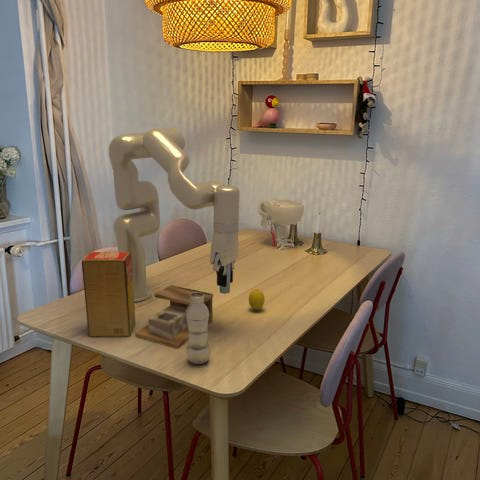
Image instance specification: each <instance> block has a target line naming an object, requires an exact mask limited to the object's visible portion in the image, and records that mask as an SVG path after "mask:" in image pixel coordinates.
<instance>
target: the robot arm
mask: <svg viewBox="0 0 480 480" xmlns="http://www.w3.org/2000/svg"><path fill="white" fill-rule="evenodd" d="M185 144H186V141H185V136H184V135H183V134H182V133H181V132H180V130H178V129H176V128H173V127H172V128H171V127H170V128H167V127H166V128H153V129H150V130H149V131H147V132H141V133H140V132H139V133H134V132H133V133H124V134H120V135H117V136H115V137H113V139H112V140H111V141H110V143H109V146H108V156H109V162H110V164H111V167H112V168H111V169H112V175H113V184H114V185H113V188H114V198H115V204H116V206H117V208H118V209H120V210H121V211H131V210H132V211H133V210H137V209H139V211H134V212H129V213H124V214H121V215H118V217H116V219H115V220H114V222H113V224H112V225H113V226H112V227H113V228H112V229H113V233H114V236H115V240H116V243H117V244H116V246H117V252H131V259H132V274H133V292H134V303H137V302H138V303H139V302H143V301H146V300H148V299H149V298H150V297H151V296H152V290H151V289H150V288H148V283H147V281H148V280H147V266H146V263H147V262H146V251H145V247H144V245H143V244H142V243H141V241H140V239H142V238H144V237H147V236H152V235H154V234H156V233H157V232H158V230H159V229H160V225H161V216H160V201H159V193H158V190H157V188H156V186H155V184H154V183H153V182H151V181H150V180H139V179H140V178H139V171H138V168H137V166H136V164H135V162H134V161H133V160H139V159H140V160H141V159H148V158H149V159H150V158H153V160H154V161H155V162H156V163H157V164H158V165H159V166H160V167H161V168H162V169H163V170H164V171H165V172H166V173H167V183H168V187H169V189H170V192H171V193H172V194H173V196H174V197H175V198H176V199H178V201H179V202H180V203H181V204H182V205H183V206H184V207H186V208H187V209H190V210H196V211H197V210H200V209H204V208H208V207H209V208H210V207H213V232H212V233H213V234H212V238H211V243H210V255H209V257H210V259H209V260H210V261H209V262H210V264H211V265H212V270H213V271H214V272H215V274H216V285H217V286H219V287H220V286H222V287H226V286H227V275H226V265H228V264H229V263H231V266H230V284H233V281H234V269H235V263H236V260H237V259H238V258H239V257H238V256H239V225H240V196H241V195H240V193H241V192H240V188H239V187H238V186H235V185H232V184H224V183H222V182H220V181H216V180H207V181H201V182H196V183H192V182H191V181H190V180H189V179H188V178H187V177H186V176H185V175H184V172H185V171H186V170H187V168H188V167H189V164H190V158H189V157H190V156H189V155H188V154H187V153H186V152H185V151H184V148H185V146H186V145H185ZM220 263H222V264H220ZM220 267H223V270H222V268H220Z"/></svg>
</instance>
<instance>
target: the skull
mask: <svg viewBox="0 0 480 480" xmlns="http://www.w3.org/2000/svg"><path fill="white" fill-rule="evenodd" d="M258 201H259V204H258V207H257V213H258V214H259V215H260V216H261V220H260V226H261V227H262V228H263V229H267V227H268V226H270V235H271V237H272V243H273V244H272V247H274V248H275V245H276V248H278V251H280V250H284V249H287V248H290V247H291V248H294V247H295V244H294V242H292V239H291V238H287V237H289V233H288V231H287V230H288V227H287V226H290V225H294V226H297V224H298V223H299V222H300V221H301V219H302V217H303V214H304V211H305V204H304V202H302V201H298V200H292V199H291V200H290V199H277V198H272V200H270V201H267V200H258Z"/></svg>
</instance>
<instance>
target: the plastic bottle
mask: <svg viewBox="0 0 480 480" xmlns="http://www.w3.org/2000/svg"><path fill="white" fill-rule="evenodd" d="M190 302H191V303H190V305H189V306H188V307H187V309H186V312H185V314H186V320H187V326H188V341H187V346H186V357H187V359H188V361H189V362H190V363H191V364H193V365H203V364H206V363H207V362H208V361H209V359H210V358H211V350H210V349H211V348H210V345H209V337H208V334H209V333H208V328H209V325H208V319H209V310H208V308H207V307H206V305H205V304H204V303H203V302H204V294H203V293H200V292H194V293H191V294H190Z"/></svg>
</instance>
